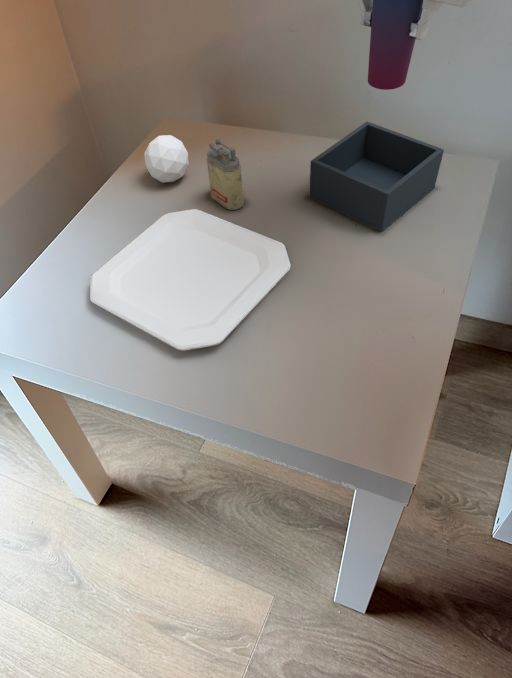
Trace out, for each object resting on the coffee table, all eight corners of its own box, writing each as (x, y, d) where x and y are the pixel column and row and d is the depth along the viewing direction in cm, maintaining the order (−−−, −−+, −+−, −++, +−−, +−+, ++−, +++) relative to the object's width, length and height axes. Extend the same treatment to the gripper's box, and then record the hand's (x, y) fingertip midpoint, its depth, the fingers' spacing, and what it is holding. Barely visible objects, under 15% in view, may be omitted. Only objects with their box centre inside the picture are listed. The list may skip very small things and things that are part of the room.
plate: (76, 300, 81) (71, 289, 79) (180, 211, 92) (178, 200, 90) (203, 371, 71) (201, 360, 69) (304, 262, 81) (305, 250, 80)
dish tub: (434, 187, 89) (444, 149, 84) (381, 232, 84) (388, 194, 78) (362, 158, 96) (366, 121, 90) (309, 197, 91) (310, 160, 85)
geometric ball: (162, 195, 100) (128, 166, 95) (181, 159, 101) (148, 129, 96) (185, 189, 94) (150, 158, 89) (204, 151, 95) (171, 119, 90)
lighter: (207, 195, 94) (199, 140, 86) (224, 186, 95) (218, 131, 87) (232, 213, 90) (226, 158, 82) (249, 203, 91) (245, 148, 83)
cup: (417, 72, 74) (444, -66, 62) (405, 96, 70) (431, -45, 58) (368, 66, 76) (385, -68, 64) (354, 89, 73) (369, -47, 60)
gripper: (522, -113, 53) (481, 40, 64) (354, -131, 63) (343, 6, 74) (489, -95, 51) (452, 61, 62) (319, -116, 61) (314, 22, 72)
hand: (392, 30), depth 68 cm, fingers closed on cup, 6 cm apart
